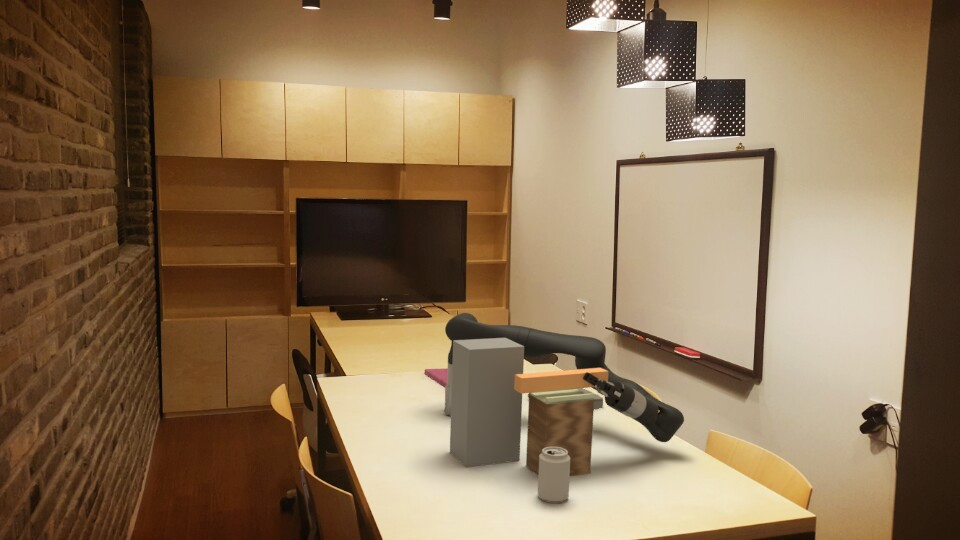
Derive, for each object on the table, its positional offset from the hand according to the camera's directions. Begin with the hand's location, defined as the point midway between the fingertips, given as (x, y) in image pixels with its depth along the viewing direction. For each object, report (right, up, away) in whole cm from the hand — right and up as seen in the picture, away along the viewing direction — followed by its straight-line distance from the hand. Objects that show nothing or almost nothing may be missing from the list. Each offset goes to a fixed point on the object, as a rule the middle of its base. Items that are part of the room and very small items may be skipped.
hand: (580, 373), depth 196 cm
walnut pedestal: (-6, -26, +1) cm, 26 cm away
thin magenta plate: (-28, -16, +85) cm, 91 cm away
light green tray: (+2, -20, +63) cm, 66 cm away
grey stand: (-26, -24, +8) cm, 36 cm away
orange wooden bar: (-5, -3, -2) cm, 7 cm away
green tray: (-5, -6, -2) cm, 8 cm away
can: (-9, -28, -18) cm, 34 cm away
